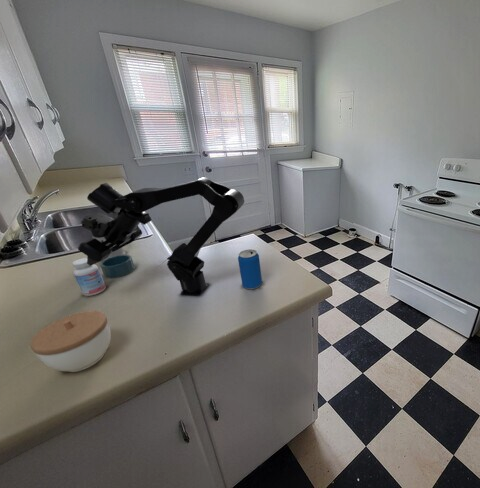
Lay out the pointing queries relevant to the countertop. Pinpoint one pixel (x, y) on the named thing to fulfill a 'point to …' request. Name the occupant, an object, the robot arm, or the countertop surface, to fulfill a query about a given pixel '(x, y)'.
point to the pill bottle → (88, 277)
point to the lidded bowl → (73, 341)
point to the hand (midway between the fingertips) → (101, 257)
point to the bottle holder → (117, 266)
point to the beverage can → (250, 269)
